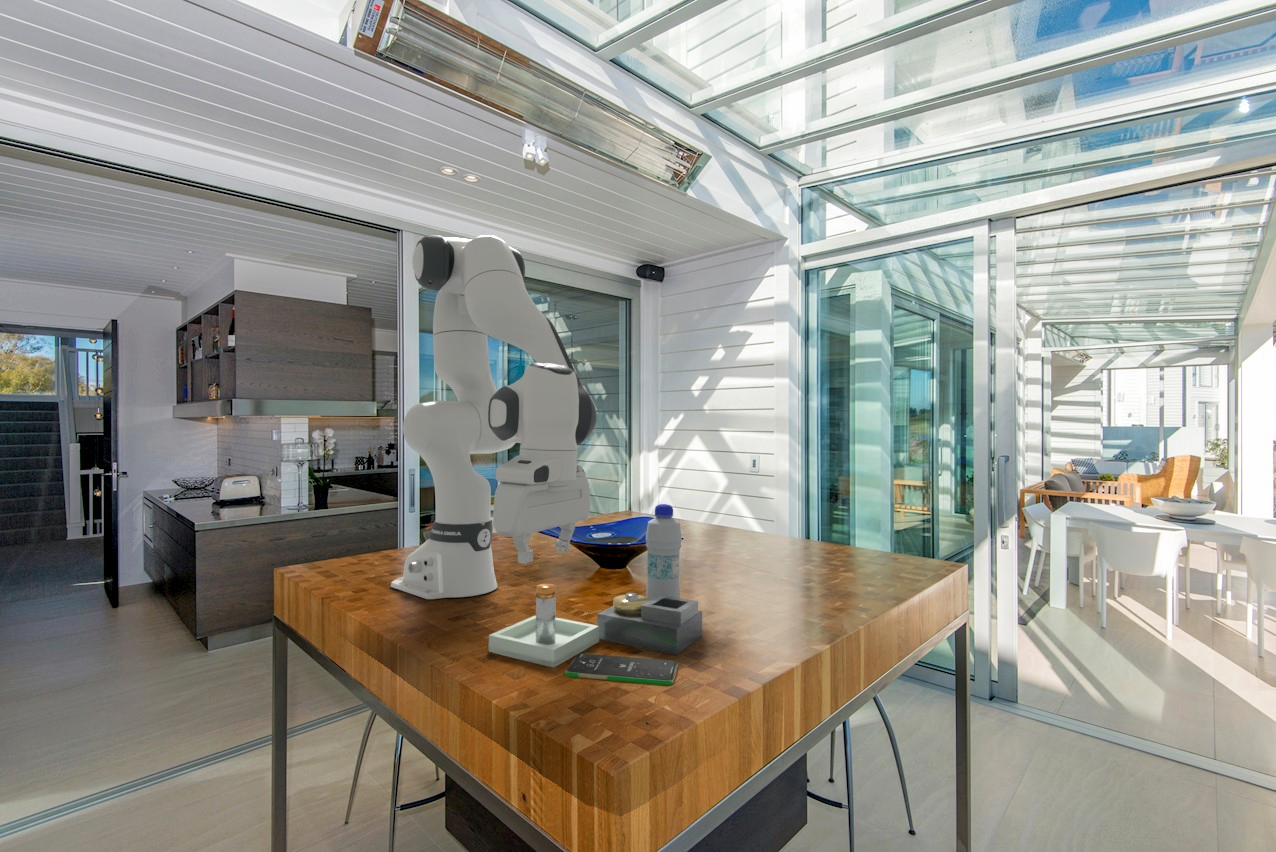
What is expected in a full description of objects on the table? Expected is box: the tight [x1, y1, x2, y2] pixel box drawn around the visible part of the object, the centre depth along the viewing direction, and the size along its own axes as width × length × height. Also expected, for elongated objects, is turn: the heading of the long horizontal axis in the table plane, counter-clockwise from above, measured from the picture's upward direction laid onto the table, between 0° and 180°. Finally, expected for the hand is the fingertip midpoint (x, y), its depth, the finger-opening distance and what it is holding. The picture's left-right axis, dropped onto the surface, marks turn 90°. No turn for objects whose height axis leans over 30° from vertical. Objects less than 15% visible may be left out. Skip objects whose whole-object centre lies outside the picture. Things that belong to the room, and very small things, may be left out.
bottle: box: [645, 503, 683, 601], centre depth 110 cm, size 7×7×20 cm
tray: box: [488, 614, 600, 669], centre depth 92 cm, size 12×12×2 cm
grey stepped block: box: [596, 592, 703, 656], centre depth 97 cm, size 14×10×6 cm
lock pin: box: [535, 583, 557, 645], centre depth 92 cm, size 3×3×8 cm
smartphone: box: [564, 652, 679, 686], centre depth 84 cm, size 8×1×15 cm
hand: (544, 556), depth 93 cm, fingers open, 8 cm apart
